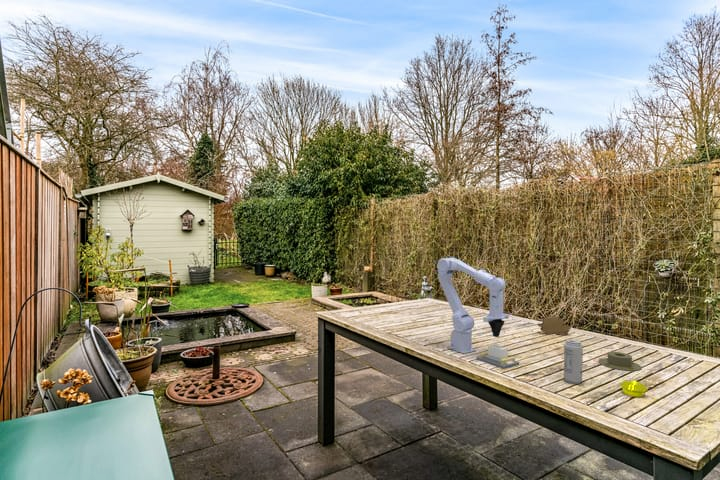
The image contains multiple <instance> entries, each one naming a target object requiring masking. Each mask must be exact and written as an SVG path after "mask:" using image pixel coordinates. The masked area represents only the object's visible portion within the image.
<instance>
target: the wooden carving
mask: <svg viewBox="0 0 720 480" xmlns="http://www.w3.org/2000/svg"><path fill="white" fill-rule="evenodd" d="M541 319H542V320H541V321H542V323H539V322H538V323H537V326H538V327H540V328H539V329H540V331H541V332H543V333H545V334H547V335H550V334H558V335H562V334H563V335H568V334H569V331H570V330H571V329H572V328H571V326H570V325H568V324H565V321H564V319H563V318H562V317H561V318H559V317H558V316H554V315H553V316H552V315H550V316H546V317H543V318H541Z"/></svg>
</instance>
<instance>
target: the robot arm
mask: <svg viewBox="0 0 720 480" xmlns="http://www.w3.org/2000/svg"><path fill="white" fill-rule="evenodd" d="M436 268H437V275H438V276H437V279H438V281H439V284H440V286H441V289H442V291H443V293H444V296H445V297H446V300H447V302H448V305H449V306H450V309H451V312H452V317H451V320H452V326H453V328H454V329H453V330H451V333H450V347H448V348H449V350H452V351H454V352H455V351H456V352H458V353H461V354H467V353H472V352H476V349H474V348H472V347H473V346H472V343H473V342H472V340H473V338H472V337H473V336H472V333H473V330H472V329H473V328H474V326H475V320H474V318H473V317H472V316H471V314H470V313H469V312H468V310H466V309H465V308H464V306H463V304H462V301H461V299H460V297H459V294H458V292H457V290H456V288H455V286H454V285H455V284H454V283H453V282H452V277H453V274H454V273H455V272H456V271H461V272H463V273H465V274H467V275H468V276H471V277H473V280H474V281H475V282H477V283H479V284H481V285H482V286H484V287H486V288H487V290H488V291H489V313H488V315H485V316H484V317H483V318H482V320H483V321H482V322H484V323H488V325H489V327H490V330H491V332H492V333H491V334H492V336H493V337H494V338H499V337H500V334H501V331H502V328H503V326H504V324H505V319H506V320H508V319H509V318H510V316H509V315H510V314H509V313H504V290H505V289H506V286H507V285H506V281H505V280H504V279H503V278H502V277H496V275H495V274H493V275H492V274H491V273H488V272H487V270H485V269H479V270H477V269H475V268H473V267H472V266H470V265H468V264H467V263H465V262H463V261H462V260H460V259H457V257H454V256H453V257H442V258H440V259H439V260H438V261H437V264H436Z"/></svg>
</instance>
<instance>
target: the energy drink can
mask: <svg viewBox="0 0 720 480" xmlns="http://www.w3.org/2000/svg"><path fill="white" fill-rule="evenodd" d="M563 346H564V347H563V379H564V380H565V381H566V382H567V383H569V384H574V385H580V384H581V382H583V359H584V358H583V351H584V349H583V348H584V347H583V345H582V342H581V341H580V340H578V339H571V338H569V339H566V340H565V342H564V344H563Z"/></svg>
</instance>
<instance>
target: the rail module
mask: <svg viewBox="0 0 720 480" xmlns="http://www.w3.org/2000/svg"><path fill="white" fill-rule="evenodd" d="M508 349H509V348H508V347H506V346H503V345H499V344H496V343H492V344H488V345H487V352H488V357H491V358H494V359H497V360H502V359H506V358H508V357H509V355H508V354H509V352H508V351H509V350H508Z"/></svg>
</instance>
